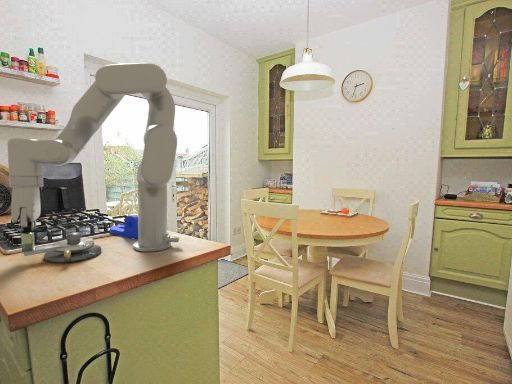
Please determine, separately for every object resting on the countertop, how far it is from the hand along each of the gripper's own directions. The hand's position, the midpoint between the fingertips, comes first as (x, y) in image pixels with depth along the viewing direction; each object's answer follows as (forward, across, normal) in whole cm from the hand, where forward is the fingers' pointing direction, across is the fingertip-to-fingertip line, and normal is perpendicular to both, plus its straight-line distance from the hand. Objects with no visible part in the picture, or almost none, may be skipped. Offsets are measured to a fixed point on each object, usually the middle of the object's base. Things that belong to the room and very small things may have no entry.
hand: (29, 242), depth 80 cm
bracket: (+5, -19, +28) cm, 34 cm away
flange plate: (+2, +2, +8) cm, 8 cm away
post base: (+5, 0, +11) cm, 12 cm away
